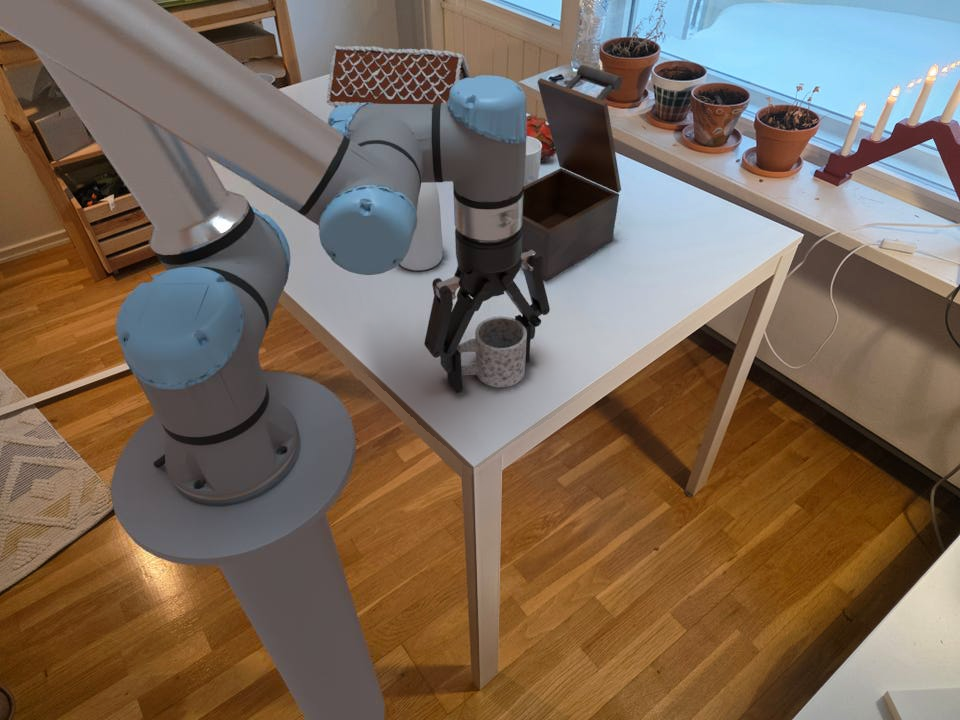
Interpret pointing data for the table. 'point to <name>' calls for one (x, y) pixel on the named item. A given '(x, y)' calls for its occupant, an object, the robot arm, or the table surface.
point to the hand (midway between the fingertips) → (488, 370)
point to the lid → (583, 126)
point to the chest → (566, 219)
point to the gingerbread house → (393, 76)
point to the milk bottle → (426, 232)
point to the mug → (497, 352)
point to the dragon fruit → (540, 134)
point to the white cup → (532, 160)
